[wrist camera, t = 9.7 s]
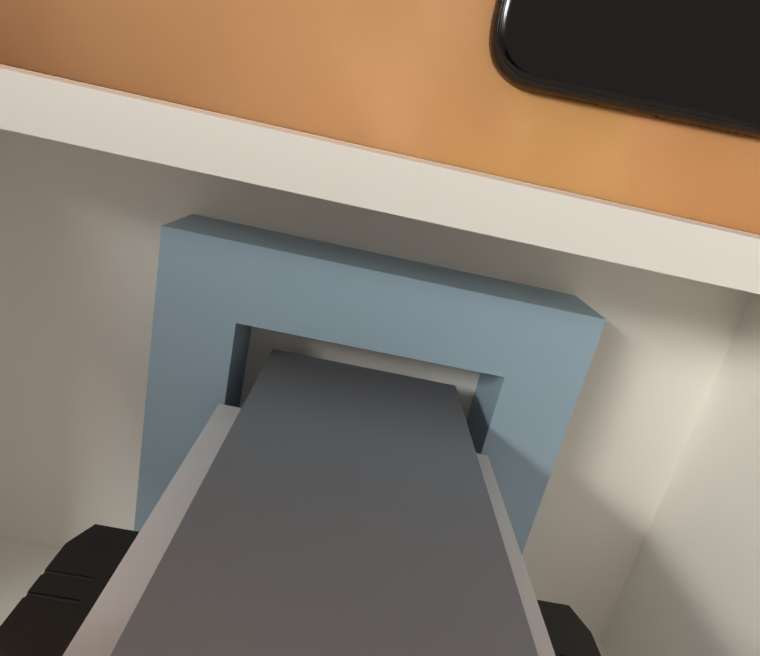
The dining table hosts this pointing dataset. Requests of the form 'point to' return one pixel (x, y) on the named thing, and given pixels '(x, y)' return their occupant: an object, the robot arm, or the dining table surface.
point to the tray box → (379, 343)
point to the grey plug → (337, 530)
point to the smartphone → (637, 56)
